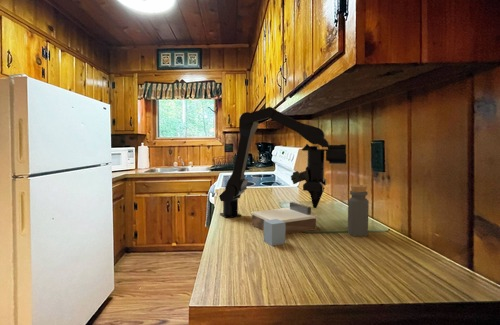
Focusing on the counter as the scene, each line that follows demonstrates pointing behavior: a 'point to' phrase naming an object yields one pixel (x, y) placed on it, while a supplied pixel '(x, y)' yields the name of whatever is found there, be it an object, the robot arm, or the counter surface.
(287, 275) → the counter surface
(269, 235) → the blue gray block
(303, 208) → the lid
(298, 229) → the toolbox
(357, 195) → the bottle
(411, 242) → the counter surface
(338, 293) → the counter surface
